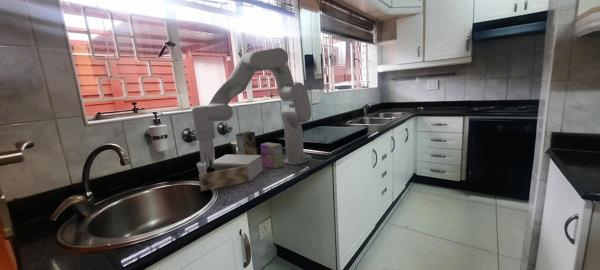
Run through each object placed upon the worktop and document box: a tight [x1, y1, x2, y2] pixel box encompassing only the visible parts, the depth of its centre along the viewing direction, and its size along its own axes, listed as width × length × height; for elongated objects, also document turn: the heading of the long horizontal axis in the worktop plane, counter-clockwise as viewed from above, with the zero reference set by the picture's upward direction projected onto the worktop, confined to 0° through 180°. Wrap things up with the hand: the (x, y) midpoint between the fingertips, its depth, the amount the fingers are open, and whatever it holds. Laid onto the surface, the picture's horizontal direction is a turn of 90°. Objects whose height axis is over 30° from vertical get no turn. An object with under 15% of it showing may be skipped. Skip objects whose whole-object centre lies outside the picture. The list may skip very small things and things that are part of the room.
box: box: [260, 141, 284, 169], centre depth 133 cm, size 10×6×12 cm, turn 47°
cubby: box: [213, 153, 264, 182], centre depth 123 cm, size 20×14×8 cm
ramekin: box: [196, 158, 217, 174], centre depth 131 cm, size 11×11×5 cm
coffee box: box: [235, 131, 258, 155], centre depth 146 cm, size 9×6×16 cm
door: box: [198, 166, 250, 192], centre depth 108 cm, size 20×3×7 cm, turn 113°
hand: (211, 176), depth 109 cm, fingers closed
